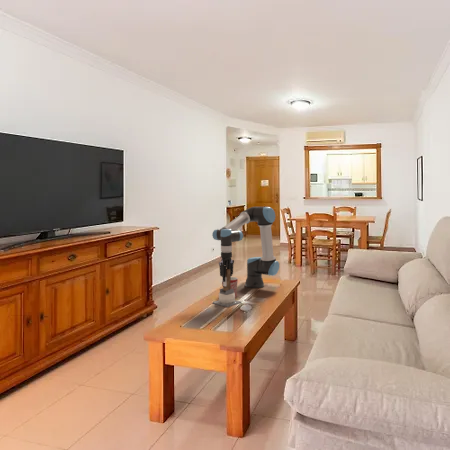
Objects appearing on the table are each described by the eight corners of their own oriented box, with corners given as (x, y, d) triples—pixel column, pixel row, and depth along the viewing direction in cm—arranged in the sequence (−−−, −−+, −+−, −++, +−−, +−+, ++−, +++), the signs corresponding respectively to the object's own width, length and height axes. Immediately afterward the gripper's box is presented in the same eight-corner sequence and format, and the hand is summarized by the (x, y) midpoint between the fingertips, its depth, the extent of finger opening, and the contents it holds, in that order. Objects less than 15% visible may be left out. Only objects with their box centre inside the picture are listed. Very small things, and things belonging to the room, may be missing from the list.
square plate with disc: (226, 299, 300) (226, 285, 299) (241, 302, 290) (241, 288, 289) (212, 303, 290) (212, 289, 289) (227, 306, 280) (227, 292, 279)
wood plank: (226, 289, 292) (225, 268, 290) (230, 290, 289) (230, 269, 288) (223, 290, 290) (222, 269, 288) (227, 291, 287) (227, 269, 286)
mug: (240, 296, 308) (240, 277, 307) (233, 298, 301) (233, 280, 300) (226, 293, 316) (226, 275, 315) (219, 296, 309) (219, 278, 307)
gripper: (230, 249, 295) (230, 282, 297) (214, 252, 284) (214, 286, 286) (238, 250, 290) (238, 284, 292) (222, 253, 279) (222, 288, 281)
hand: (226, 285), depth 289 cm, fingers closed on wood plank, 3 cm apart
